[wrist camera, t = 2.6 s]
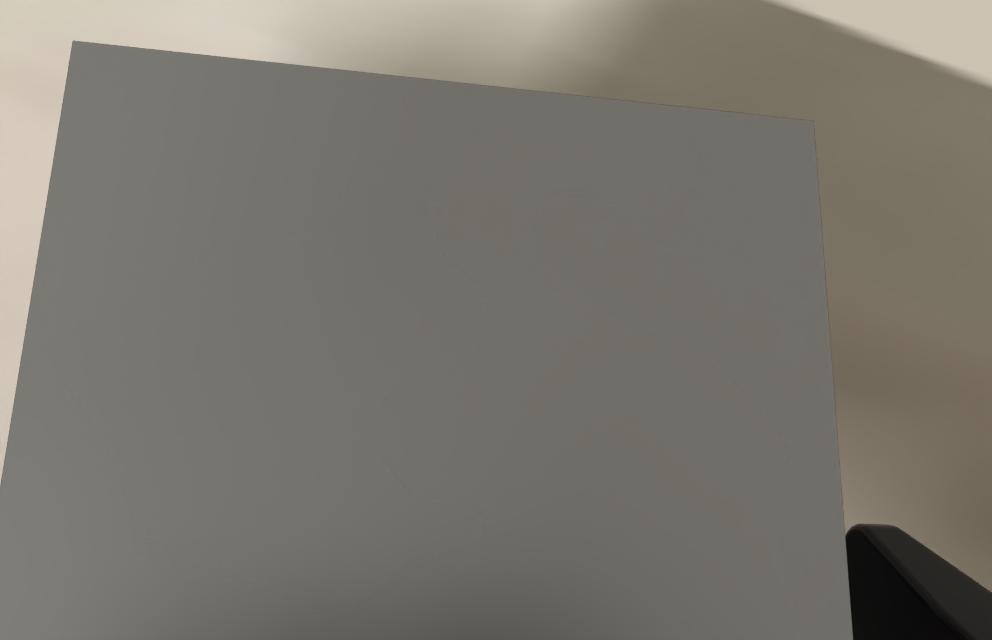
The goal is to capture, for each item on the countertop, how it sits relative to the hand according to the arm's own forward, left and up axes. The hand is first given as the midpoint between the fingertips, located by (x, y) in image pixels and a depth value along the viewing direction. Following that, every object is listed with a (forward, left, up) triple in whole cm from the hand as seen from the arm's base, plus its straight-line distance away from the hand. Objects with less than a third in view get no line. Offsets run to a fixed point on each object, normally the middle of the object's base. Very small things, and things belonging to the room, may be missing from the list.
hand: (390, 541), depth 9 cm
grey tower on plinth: (0, 0, -8) cm, 8 cm away
